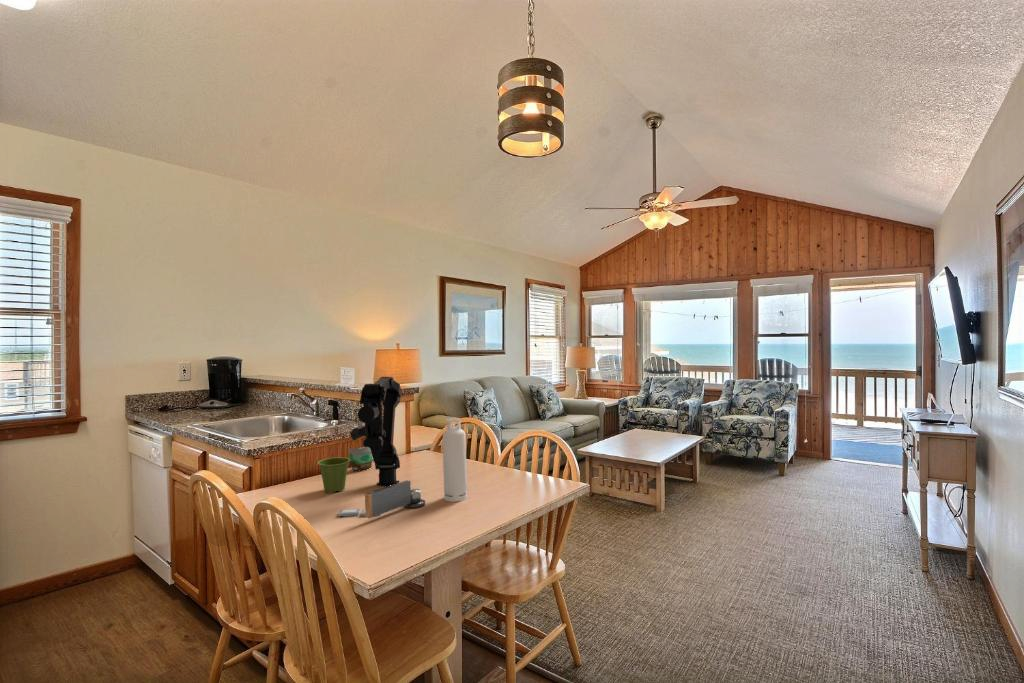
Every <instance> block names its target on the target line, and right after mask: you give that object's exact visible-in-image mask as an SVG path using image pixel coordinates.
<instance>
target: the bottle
mask: <svg viewBox="0 0 1024 683" xmlns="http://www.w3.org/2000/svg"><path fill="white" fill-rule="evenodd" d="M461 422H462V421H461V418H457V417H456V418H454V417H453V418H447V419H446V429H445V430H444V432H443V433H442V460H443V461H442V463H443V464H442V465H443V468H442V469H443V470H442V471H443V493H444V494H443V500H445V501H446V502H454V503H456V502H462V501H463V502H464V500H466V499H467V498H468V492H467V490H468V484H467V483H468V482H467V449H466V448H467V443H466V441H467V440H466V439H467V438H466V436H467V435H466V432H465V430H464V429H462V426H461V424H462V423H461ZM451 423H452V425H451ZM456 423H457V425H456Z"/></svg>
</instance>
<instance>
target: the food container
mask: <svg viewBox="0 0 1024 683" xmlns="http://www.w3.org/2000/svg"><path fill="white" fill-rule="evenodd" d="M348 455H349V459H350V469H351V471H352V470H353V471H352V472H360V471H359V470H365V471H367V470H366V469H369V468H371V467H372V465H373V456H372V453H371V449H370V448H369V447H363V446H359V447H358V448H349V449H348ZM372 468H373V467H372ZM372 468H371V469H372ZM369 470H370V469H369Z"/></svg>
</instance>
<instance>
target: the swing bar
mask: <svg viewBox="0 0 1024 683" xmlns="http://www.w3.org/2000/svg"><path fill="white" fill-rule="evenodd" d="M421 497H422V496H421V489H419V488H411V480H407V479H406V480H404V481H399V482H398V483H396V484H393V485H391V486H384V487H382V488H378V489H375V490H372V491H369V492H366V493H364V504H365V505H364V506H365V508H364V510H365V516H366V517H365V518H367V519H372V518H374V517H376V516H377V515H378V516H381V515H382V514H384V513H388V512H391V511H393V510H395V509H399V508H402V507H405V505H407V504H410V503H418V502H420V501H421V499H422V498H421Z"/></svg>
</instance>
